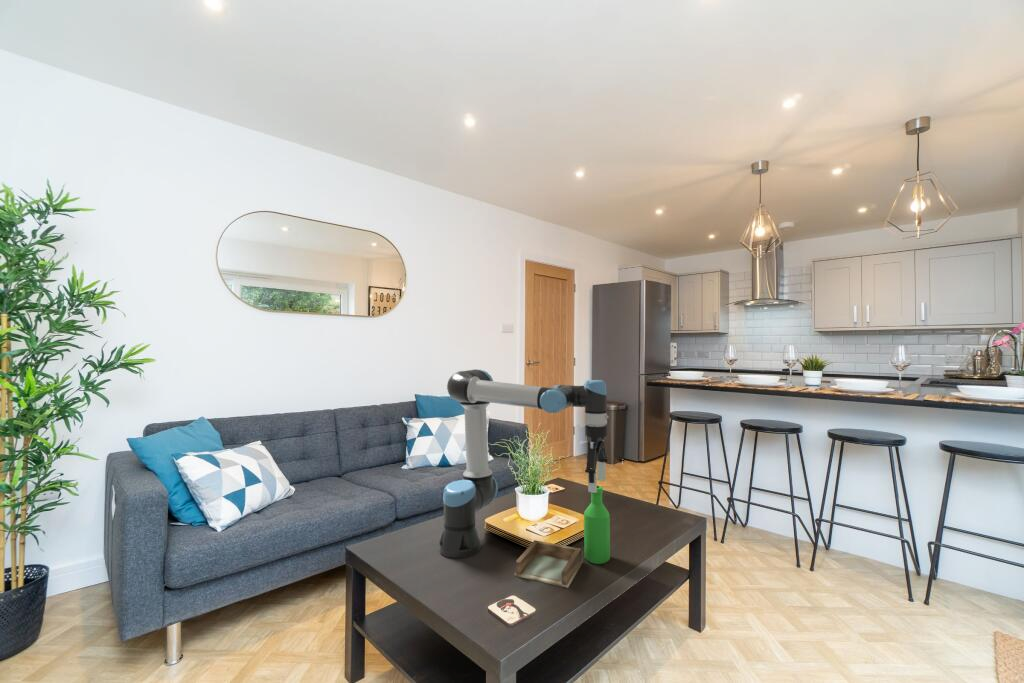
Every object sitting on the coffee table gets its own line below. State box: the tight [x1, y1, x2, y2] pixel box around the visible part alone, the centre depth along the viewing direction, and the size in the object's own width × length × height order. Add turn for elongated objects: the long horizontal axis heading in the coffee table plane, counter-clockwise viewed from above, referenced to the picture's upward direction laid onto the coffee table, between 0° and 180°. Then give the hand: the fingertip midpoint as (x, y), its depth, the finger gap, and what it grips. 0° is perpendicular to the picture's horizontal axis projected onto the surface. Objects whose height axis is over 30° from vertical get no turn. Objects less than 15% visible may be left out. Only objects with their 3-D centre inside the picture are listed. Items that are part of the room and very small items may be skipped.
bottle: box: [583, 485, 611, 565], centre depth 153 cm, size 9×9×25 cm
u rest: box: [513, 539, 584, 589], centre depth 147 cm, size 18×17×5 cm
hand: (597, 486), depth 153 cm, fingers open, 13 cm apart
